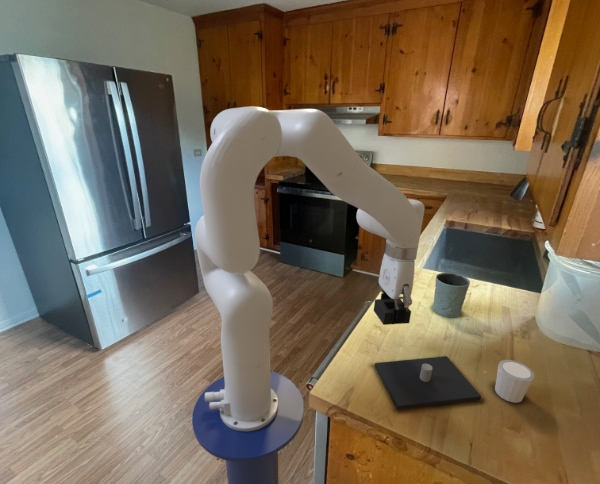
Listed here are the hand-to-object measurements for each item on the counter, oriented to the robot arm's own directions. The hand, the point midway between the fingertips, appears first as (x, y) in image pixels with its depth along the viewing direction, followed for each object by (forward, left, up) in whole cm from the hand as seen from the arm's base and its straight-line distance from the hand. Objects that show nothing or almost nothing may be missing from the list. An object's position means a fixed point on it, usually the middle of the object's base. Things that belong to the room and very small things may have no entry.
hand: (391, 313), depth 86 cm
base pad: (+4, -13, -12) cm, 18 cm away
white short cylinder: (+22, -19, -12) cm, 32 cm away
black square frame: (0, 0, -1) cm, 1 cm away
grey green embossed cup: (+28, +17, -12) cm, 35 cm away
